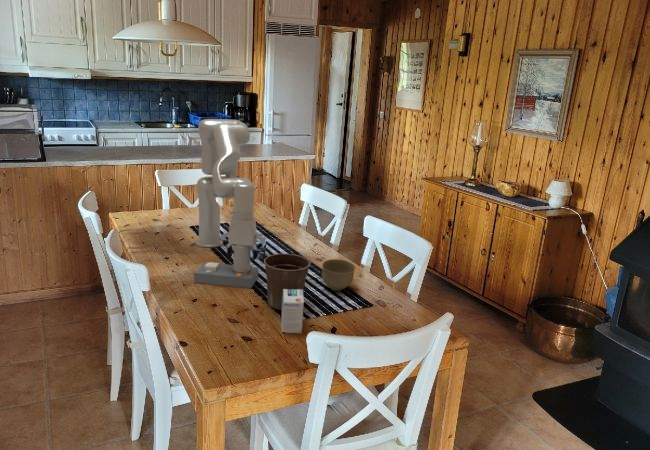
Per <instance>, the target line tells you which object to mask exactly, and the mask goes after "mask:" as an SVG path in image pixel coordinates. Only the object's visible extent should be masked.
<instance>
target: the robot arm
mask: <svg viewBox="0 0 650 450" xmlns="http://www.w3.org/2000/svg"><path fill="white" fill-rule="evenodd" d="M197 129H198V134H199V137H200V138H199V139H200V140H201V159H200V166H201V168H200V169H201V172H202V173H203V174H204V175H206V176H203V177H200V178H199V179H198V180H197V181H196V190H197V199H198V238H197V239H196V240H195V245H196V246H198V247H200V248H207V249H208V248H218V247H221V246H222V245H224V246H225V247H226V255H227V257H228V259H230V258H232V257H233V246H234V245H243V246H251V247H252V248H253V250H252V260H253V261H256V259H258V258H259V249H261V248H262V247H263V245H264V244H265V242H266V238H264V237H263V236H261V235H260V234H258V232H257V223H256V219H255V217H254V215H255V214H254V209H255V207H254V206H255V205H254V203H255V185H254V184H253V182H251V180H250V179H249V178H247V177H238V167H239V165H238V162H239V160H240V159H241V155H242V154H241V151H240V148H239V145H245V144H248V143H249V141H250V138H251V135H250V134H251V133H250V130H249V127H248V126H247V124H246V123H244V122H242V121H240V120H238V119H228V118H227V119H222V118H206V119H202V120H200V121H199V123H198V128H197ZM217 198H221V199H232V198H233V210H229V215H232V217H231V218H230V221H229V227H228V231H227V232H224V233H222V234H221V206H220V203H218V202H217V200H216V199H217ZM226 237H227V238H228V239H227V238H226ZM257 240H259V241H260V242H259V243H257Z"/></svg>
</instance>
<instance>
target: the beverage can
mask: <svg viewBox="0 0 650 450" xmlns="http://www.w3.org/2000/svg"><path fill="white" fill-rule="evenodd" d="M251 247H252V246H243V245H233V260H232V261H233V264H232V265H233V270H234V271H235V272H237V273H247V272H248V271H249V270H250V267H251V251H252V250H251Z"/></svg>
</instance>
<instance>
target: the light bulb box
mask: <svg viewBox="0 0 650 450" xmlns="http://www.w3.org/2000/svg"><path fill="white" fill-rule="evenodd" d="M304 299H305V298H304V292H303V290H301V289H283V298H282V310H281V317H280V318H281V320H280V321H281V328H280V329H281V331H280V332H281V333H282V332H285V333H287V334H302V330H303V321H304V320H303V316H304V304H305V301H304Z"/></svg>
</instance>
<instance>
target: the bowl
mask: <svg viewBox="0 0 650 450" xmlns="http://www.w3.org/2000/svg"><path fill="white" fill-rule="evenodd" d="M355 270H356V266H355V264H354V263H352V262H351V261H348V260H344V259H337V258H335V259H334V258H333V259H327V260H324V261H323V263H322V271H321V279H322V281H323V282H324V284H325V285H326V286H328V287H329V288H330V289H331V290H332V291H342V290H344V289H345V288H347V287H349V286H350V285H352V283H353V281H354V276H355V275H354V274H355Z"/></svg>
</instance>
